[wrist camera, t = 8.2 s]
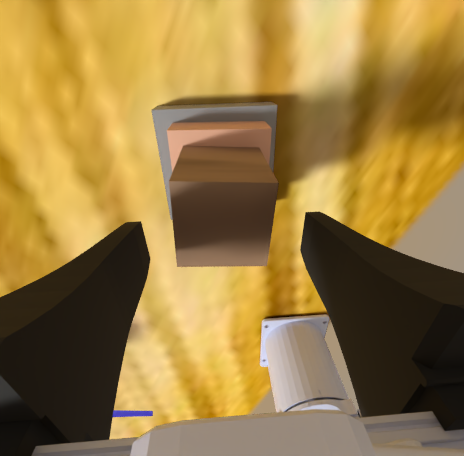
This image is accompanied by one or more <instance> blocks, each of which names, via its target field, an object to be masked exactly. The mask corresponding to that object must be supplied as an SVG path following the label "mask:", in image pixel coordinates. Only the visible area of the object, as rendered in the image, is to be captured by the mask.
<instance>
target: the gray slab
mask: <svg viewBox="0 0 464 456" xmlns="http://www.w3.org/2000/svg"><path fill="white" fill-rule="evenodd" d="M152 115H153V121H154V127H155V132H156V138H157V144H158V149H159V155H160V160H161V166H162V172H163V177H164V183H165V189H166V194H167V200H168V206H169V211H170V217H171V220H173V218H172V208H171V198H170V188H169V180H170V177H171V175H172V166H171V159H170V151H169V144H168V136H167V130H168V128H169V127H170V126H171V124H172V123H181V122H233V121H265V122H266V123H267V124H268V125H269V126H270V127H271V128H272V132H271V146H270V160H269V166H270V168H271V170H272V172H273V169H274V152H275V136H276V119H277V105H276V104H274V103H273V102H250V103H223V104H196V105H170V106H157V107H155V108H154V109H152Z"/></svg>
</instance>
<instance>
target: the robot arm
mask: <svg viewBox="0 0 464 456" xmlns="http://www.w3.org/2000/svg"><path fill="white" fill-rule="evenodd" d="M300 250H301V253H302V257H303V260H304V263H305V266H306V269H307V271H308V273H309V275H310V277H311V279H312V281H313V283H314V286H315V288H316V290H317V292H318V294H319V296H320V298H321V300H322V302H323V304H324V306H325V308H326V310H327V312H328V314H329V316H328V315H326V314H324V315H310V316H296V317H282V318H268V319H264V320H263V321H262V332H261V351H260V366H262V367H266V366H268V369H269V375H270V380H271V386H272V391H273V396H274V402H275V407H276V413H264V414H252V415H241V416H229V417H218V418H206V419H194V420H183V421H178V422H173V423H169V424H164V425H159V426H156V427H154V428H152V429H151V430H149V431H148V432H146V433H145V434H143V435H141V436H140V437H133V438H122V439H111V440H109V437H110V430H111V423H112V416H113V410H114V404H115V398H116V393H117V387H118V381H119V376H120V371H121V366H122V361H123V356H124V352H125V347H126V343H127V338H128V334H129V330H130V327H131V324H132V321H133V318H134V315H135V312H136V309H137V306H138V303H139V300H140V297H141V294H142V291H143V288H144V285H145V282H146V279H147V275H148V270H149V264H150V256H149V252H148V248H147V244H146V240H145V236H144V232H143V228H142V224H141V222H126V223H125V224H123V225H121V226H120V227H119V228H117V229H116V230H114V231H113V232H112V233H110V234H109V235H108V236H106V237H105V238H104V239H102V240H101V241H99V242H98V243H97V244H95V245H94V246H93V247H91V248H90V249H88V250H87V251H85V252H84V253H82V254H81V255H79V256H78V257H76V258H75V259H73V260H72V261H70V262H69V263H67V264H65V265H64V266H62V267H60V268H59V269H57V270H55V271H53V272H51V273H50V274H48V275H46V276H44V277H42V278H40V279H38V280H36V281H34V282H32V283H30V284H28V285H26V286H24V287H22V288H20V289H18V290H16V291H14V292H11V293H9V294H7V295H5V296H2V297H0V456H464V273H461V272H457V271H453V270H450V269H446V268H443V267H440V266H437V265H434V264H431V263H428V262H425V261H422V260H419V259H415V258H413V257H410V256H408V255H405V254H402V253H400V252H398V251H395V250H393V249H390V248H388V247H386V246H384V245H381V244H379V243H377V242H375V241H373V240H371V239H369V238H367V237H365V236H363V235H361V234H359V233H358V232H356V231H354V230H352V229H350V228H349V227H347V226H345V225H343V224H342V223H340V222H338V221H336V220H335V219H333V218H331V217H329V216H327V215H325V214H323V213H321V212H306V214H305V221H304V228H303V235H302V242H301V249H300ZM329 317H330V319H331V322H332V325H333V327H334V330H335V333H336V336H337V338H338V341H339V344H340V347H341V350H342V353H343V356H344V359H345V362H346V365H347V368H348V371H349V375H350V378H351V382H352V385H353V388H354V391H355V395H356V399H357V402H358V406H359V409H358V410H357V412H358V414H357V412H356V409H355V407H354V405H353V402H352V400H351V399H349V398H348V395H347V393H346V391H345V388H344V385H343V383H342V381H341V378H340V376H339V374H338V371H337V368H336V366H335V364H334V361H333V359H332V356H331V354H330V351H329V349H328V347H327V344H326V342H325V339H324V338H325V334H326V330H327V326H328V322H329Z"/></svg>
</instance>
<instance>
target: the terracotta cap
mask: <svg viewBox="0 0 464 456" xmlns="http://www.w3.org/2000/svg"><path fill="white" fill-rule="evenodd" d="M271 132H272V128H271V127H270V126H269V125H268V124H267V123H266V122H265V121H233V122H181V123H172V124H171V126H170V127H169V128H168V130H167V136H168V144H169V151H170V159H171V166H172V172H173V170H174V167H175V165H176V162H177V160H178V157H179V155H180V152H181V150H182V147H183V146H216V147H258V148H260V150H261V152H262V153H263V155H264V157H265V159H266V161H267V163H268V164H269V160H270V146H271Z"/></svg>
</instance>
